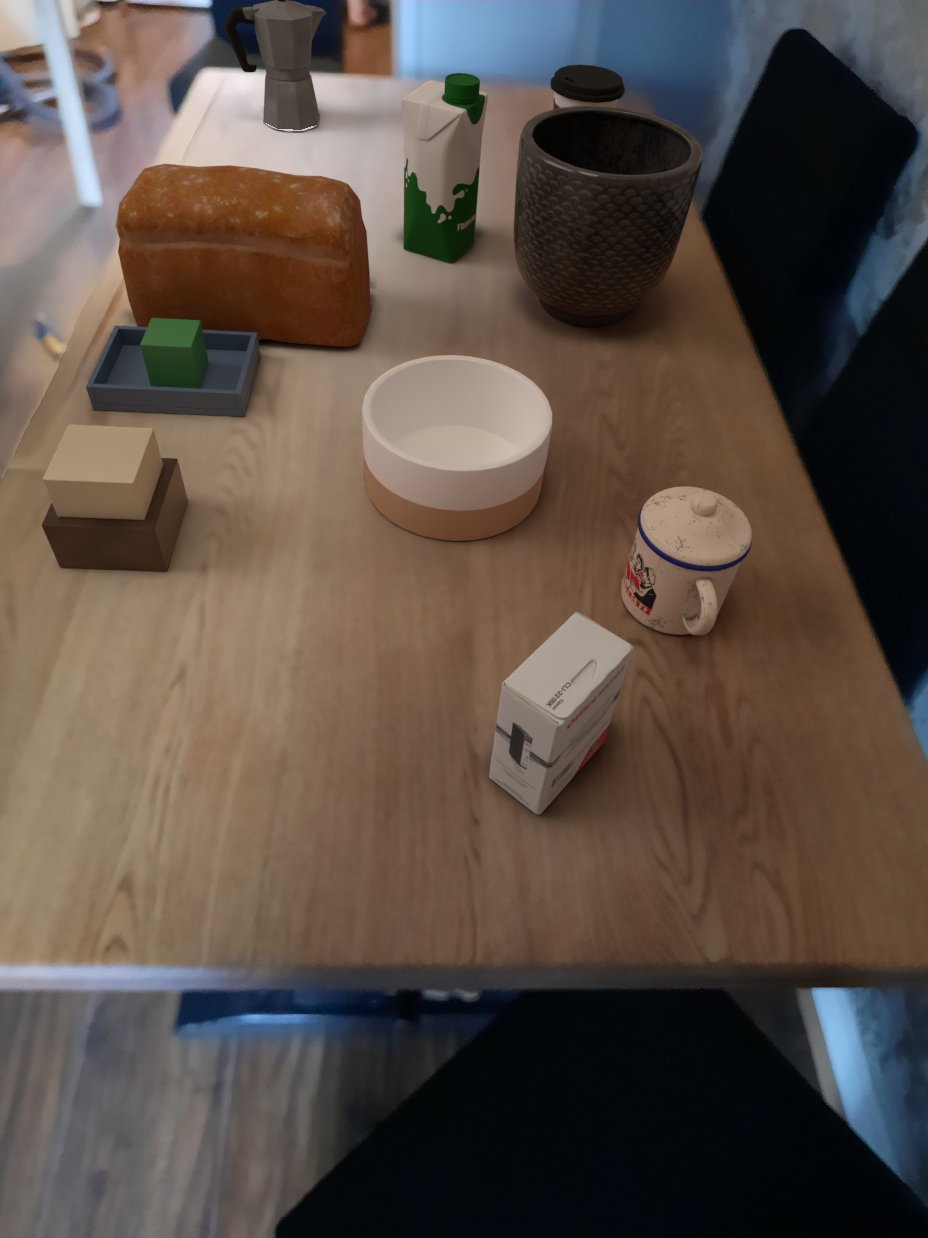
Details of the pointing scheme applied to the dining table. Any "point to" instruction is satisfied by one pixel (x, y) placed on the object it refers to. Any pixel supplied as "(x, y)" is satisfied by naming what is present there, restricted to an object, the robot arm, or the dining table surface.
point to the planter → (600, 208)
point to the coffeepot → (281, 58)
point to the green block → (175, 353)
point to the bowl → (455, 446)
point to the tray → (221, 392)
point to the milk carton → (442, 165)
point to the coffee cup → (586, 86)
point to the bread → (246, 252)
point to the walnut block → (123, 531)
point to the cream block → (104, 472)
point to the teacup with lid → (684, 559)
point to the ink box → (557, 710)
